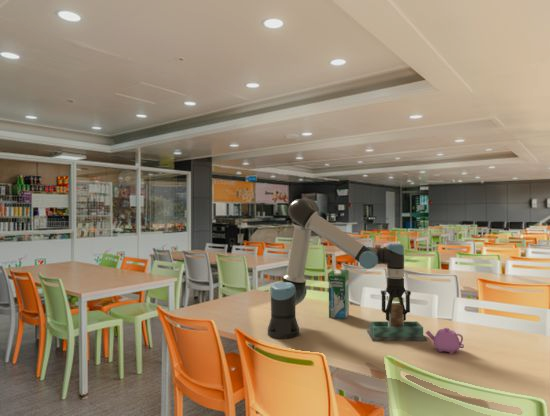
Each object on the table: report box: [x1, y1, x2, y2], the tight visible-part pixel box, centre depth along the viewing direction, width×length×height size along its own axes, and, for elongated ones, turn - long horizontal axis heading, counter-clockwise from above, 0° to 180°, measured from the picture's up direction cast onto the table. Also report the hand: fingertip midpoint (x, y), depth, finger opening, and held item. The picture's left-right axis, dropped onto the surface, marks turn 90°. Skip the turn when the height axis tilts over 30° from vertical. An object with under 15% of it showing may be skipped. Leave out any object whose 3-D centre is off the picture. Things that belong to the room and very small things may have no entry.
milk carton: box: [328, 268, 350, 320], centre depth 223 cm, size 9×9×25 cm
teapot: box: [425, 327, 465, 355], centre depth 171 cm, size 10×15×9 cm
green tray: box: [366, 320, 428, 342], centre depth 189 cm, size 24×12×6 cm, turn 88°
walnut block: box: [390, 302, 403, 327], centre depth 189 cm, size 5×5×12 cm
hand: (395, 327), depth 189 cm, fingers closed on walnut block, 5 cm apart
